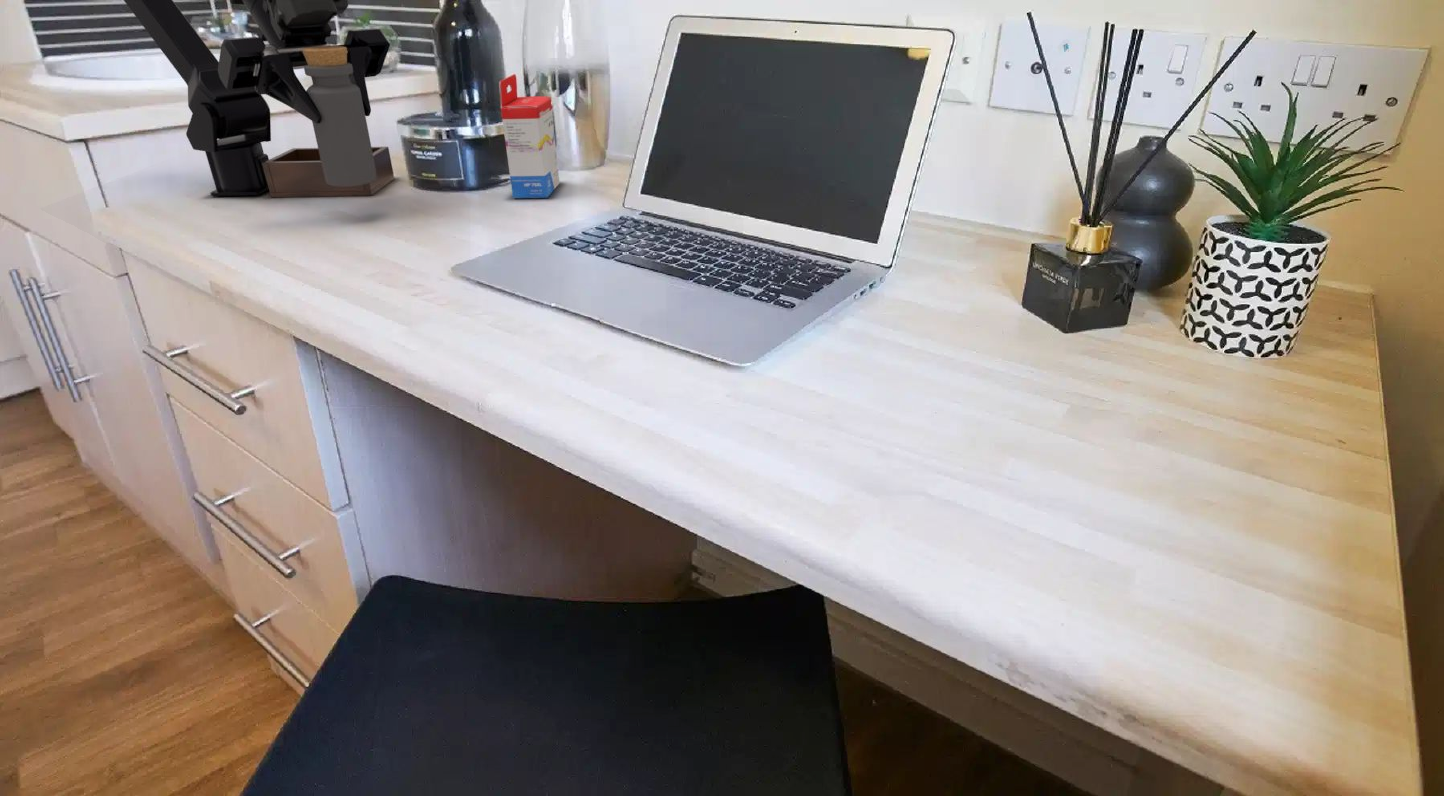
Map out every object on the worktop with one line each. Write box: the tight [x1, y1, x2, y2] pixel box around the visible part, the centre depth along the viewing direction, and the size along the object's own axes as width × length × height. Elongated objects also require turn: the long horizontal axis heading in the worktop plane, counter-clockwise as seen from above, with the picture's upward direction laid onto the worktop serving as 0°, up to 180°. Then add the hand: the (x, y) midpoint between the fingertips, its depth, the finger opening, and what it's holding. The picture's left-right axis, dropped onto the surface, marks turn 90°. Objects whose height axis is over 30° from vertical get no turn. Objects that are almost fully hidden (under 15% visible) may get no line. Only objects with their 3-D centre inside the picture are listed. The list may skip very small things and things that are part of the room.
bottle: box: [302, 45, 377, 186], centre depth 99 cm, size 6×6×15 cm
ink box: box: [498, 73, 560, 199], centre depth 112 cm, size 8×5×15 cm, turn 179°
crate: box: [262, 146, 395, 198], centre depth 117 cm, size 14×10×5 cm
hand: (344, 117), depth 98 cm, fingers closed on bottle, 6 cm apart
